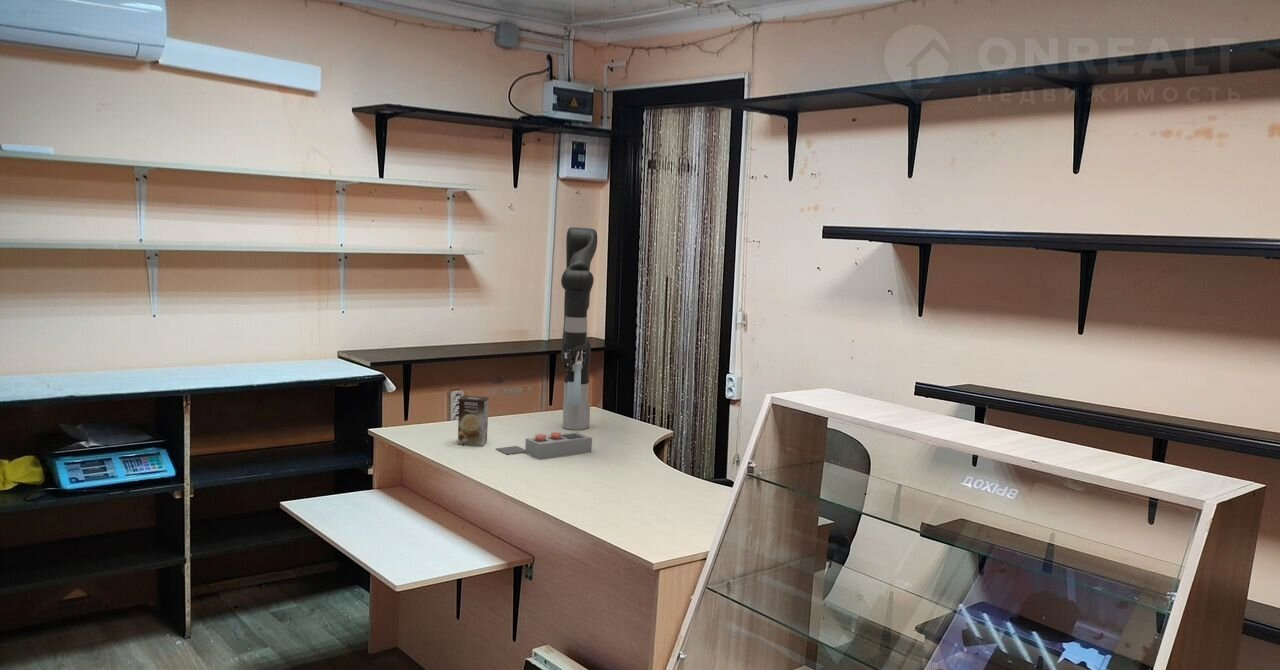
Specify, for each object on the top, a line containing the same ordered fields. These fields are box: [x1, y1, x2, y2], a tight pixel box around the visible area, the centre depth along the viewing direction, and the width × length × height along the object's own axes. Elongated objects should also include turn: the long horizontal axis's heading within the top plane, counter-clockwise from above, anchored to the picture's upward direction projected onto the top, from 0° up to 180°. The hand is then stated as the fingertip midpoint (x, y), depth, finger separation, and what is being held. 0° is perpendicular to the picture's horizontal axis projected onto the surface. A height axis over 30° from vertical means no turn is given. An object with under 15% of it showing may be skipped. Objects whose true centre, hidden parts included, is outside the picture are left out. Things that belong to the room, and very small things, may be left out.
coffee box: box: [457, 395, 489, 447], centre depth 316 cm, size 9×6×16 cm
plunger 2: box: [550, 431, 562, 440], centre depth 309 cm, size 3×3×6 cm
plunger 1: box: [534, 433, 547, 442], centre depth 305 cm, size 3×3×6 cm
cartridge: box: [567, 360, 582, 406], centre depth 311 cm, size 5×5×15 cm
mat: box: [495, 445, 526, 456], centre depth 310 cm, size 8×8×1 cm
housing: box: [524, 431, 593, 460], centre depth 310 cm, size 20×9×5 cm, turn 127°
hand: (574, 380), depth 311 cm, fingers closed on cartridge, 4 cm apart
